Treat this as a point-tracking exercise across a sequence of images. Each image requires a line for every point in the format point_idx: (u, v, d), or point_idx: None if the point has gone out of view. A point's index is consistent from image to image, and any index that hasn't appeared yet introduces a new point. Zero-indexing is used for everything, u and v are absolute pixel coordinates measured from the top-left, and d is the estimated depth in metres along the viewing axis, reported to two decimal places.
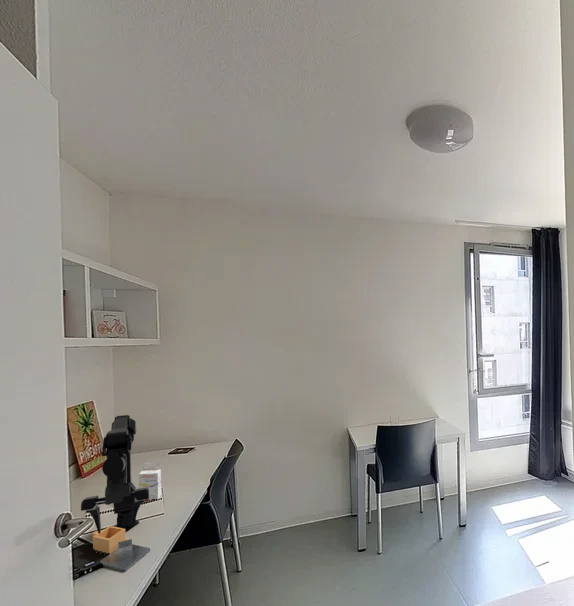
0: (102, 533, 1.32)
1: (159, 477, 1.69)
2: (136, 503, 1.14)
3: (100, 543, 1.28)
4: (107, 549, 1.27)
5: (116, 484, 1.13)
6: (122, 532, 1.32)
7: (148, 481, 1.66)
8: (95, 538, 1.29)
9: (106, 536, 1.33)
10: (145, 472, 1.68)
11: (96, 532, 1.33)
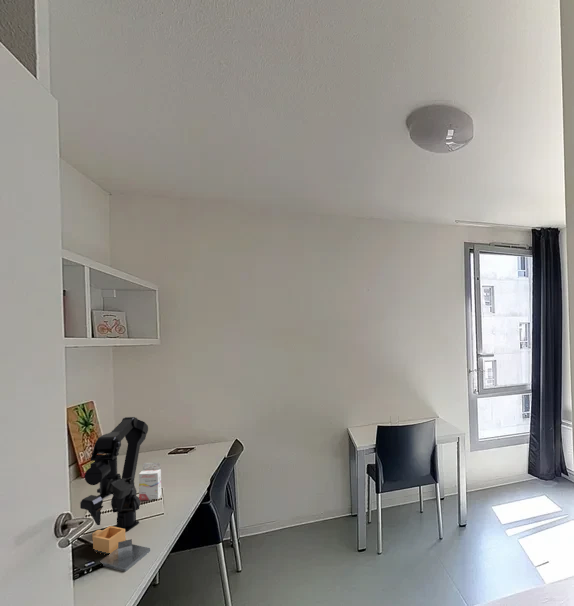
0: (102, 533, 1.32)
1: (159, 477, 1.69)
2: None
3: (100, 543, 1.28)
4: (107, 549, 1.27)
5: (118, 481, 1.31)
6: (122, 532, 1.32)
7: (148, 481, 1.66)
8: (95, 538, 1.29)
9: (106, 536, 1.33)
10: (145, 472, 1.68)
11: (96, 532, 1.33)
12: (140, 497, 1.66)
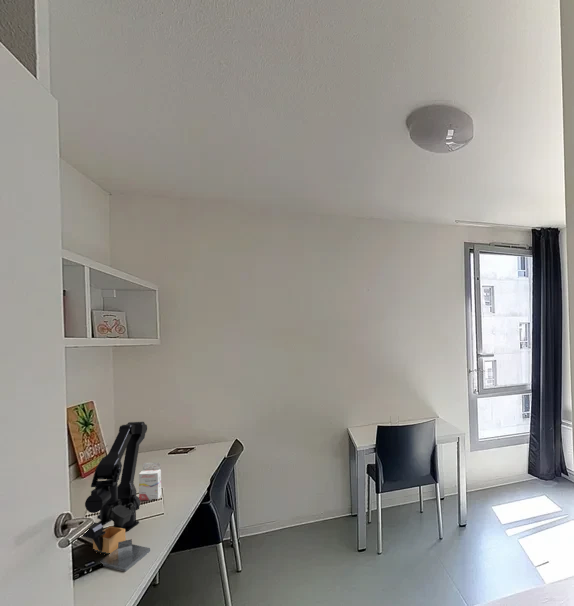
0: None
1: (159, 477, 1.69)
2: None
3: None
4: (107, 549, 1.27)
5: (118, 507, 1.31)
6: (122, 532, 1.32)
7: (148, 481, 1.66)
8: None
9: (106, 536, 1.33)
10: (145, 472, 1.68)
11: None
12: (140, 497, 1.66)
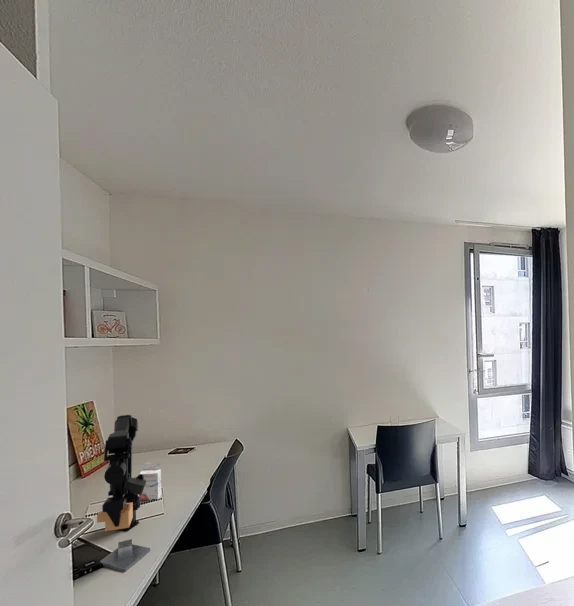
0: None
1: (159, 477, 1.69)
2: (130, 493, 1.32)
3: None
4: (126, 522, 1.24)
5: (131, 479, 1.29)
6: (131, 505, 1.30)
7: (148, 481, 1.66)
8: (108, 516, 1.23)
9: None
10: (145, 472, 1.68)
11: (100, 513, 1.25)
12: (140, 497, 1.66)
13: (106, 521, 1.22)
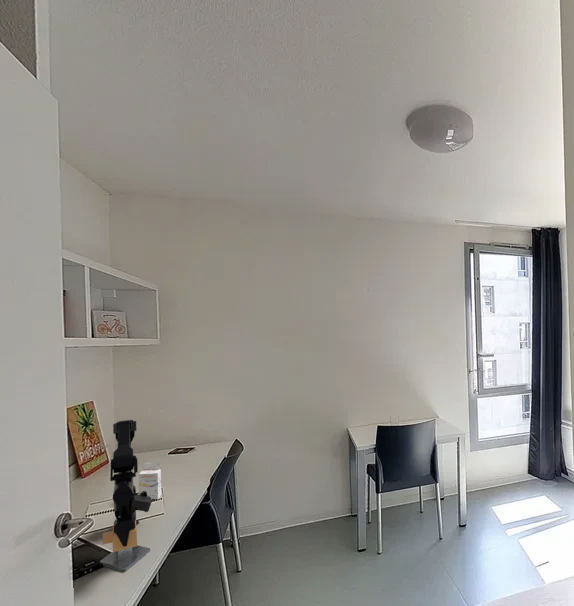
0: None
1: (159, 477, 1.69)
2: None
3: None
4: (134, 540, 1.23)
5: (136, 497, 1.27)
6: None
7: (148, 481, 1.66)
8: (116, 536, 1.21)
9: None
10: (145, 472, 1.68)
11: (105, 534, 1.22)
12: None
13: (114, 542, 1.20)
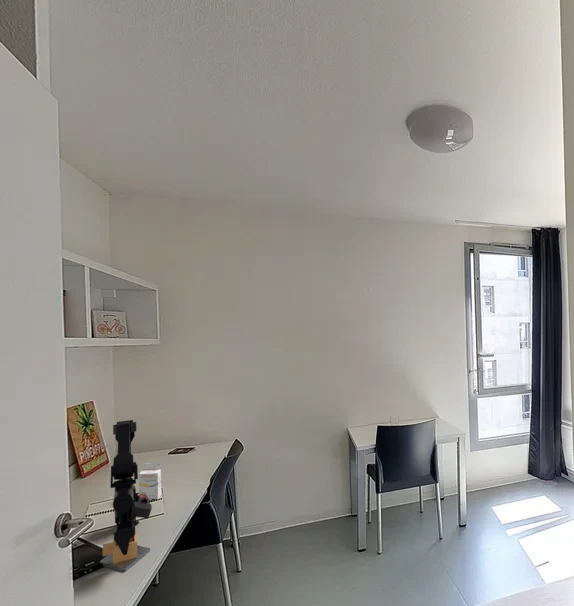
0: (115, 543, 1.23)
1: (159, 477, 1.69)
2: None
3: None
4: (134, 552, 1.22)
5: (136, 503, 1.27)
6: None
7: (148, 481, 1.66)
8: (116, 548, 1.21)
9: None
10: (145, 472, 1.68)
11: (106, 546, 1.22)
12: (140, 497, 1.66)
13: (114, 554, 1.20)
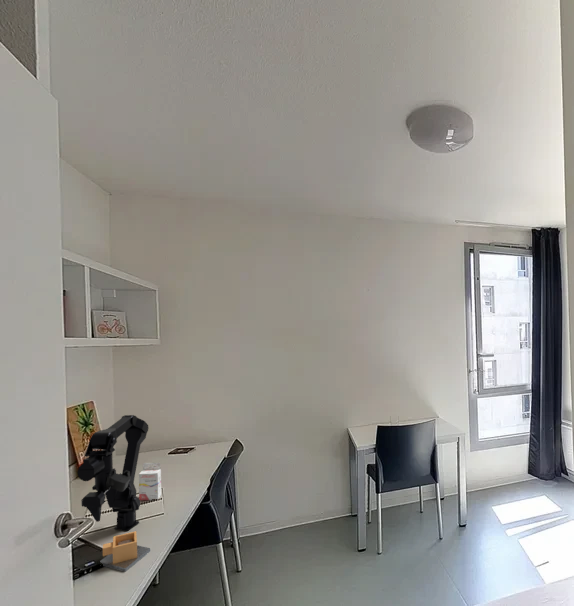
0: (115, 543, 1.23)
1: (159, 477, 1.69)
2: None
3: (124, 550, 1.21)
4: (134, 552, 1.22)
5: (115, 475, 1.31)
6: None
7: (148, 481, 1.66)
8: (116, 548, 1.21)
9: None
10: (145, 472, 1.68)
11: (106, 546, 1.22)
12: (140, 497, 1.66)
13: (114, 554, 1.20)
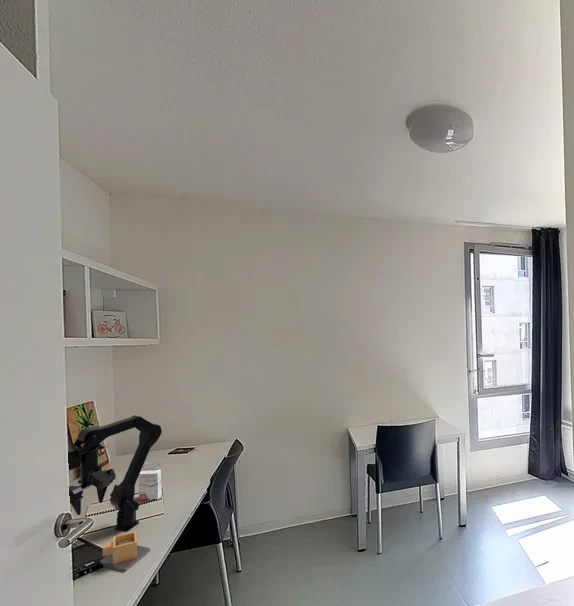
0: (115, 543, 1.23)
1: (159, 477, 1.69)
2: None
3: (124, 550, 1.21)
4: (134, 552, 1.22)
5: (98, 472, 1.34)
6: None
7: (148, 481, 1.66)
8: (116, 548, 1.21)
9: None
10: (145, 472, 1.68)
11: (106, 546, 1.22)
12: (140, 497, 1.66)
13: (114, 554, 1.20)
